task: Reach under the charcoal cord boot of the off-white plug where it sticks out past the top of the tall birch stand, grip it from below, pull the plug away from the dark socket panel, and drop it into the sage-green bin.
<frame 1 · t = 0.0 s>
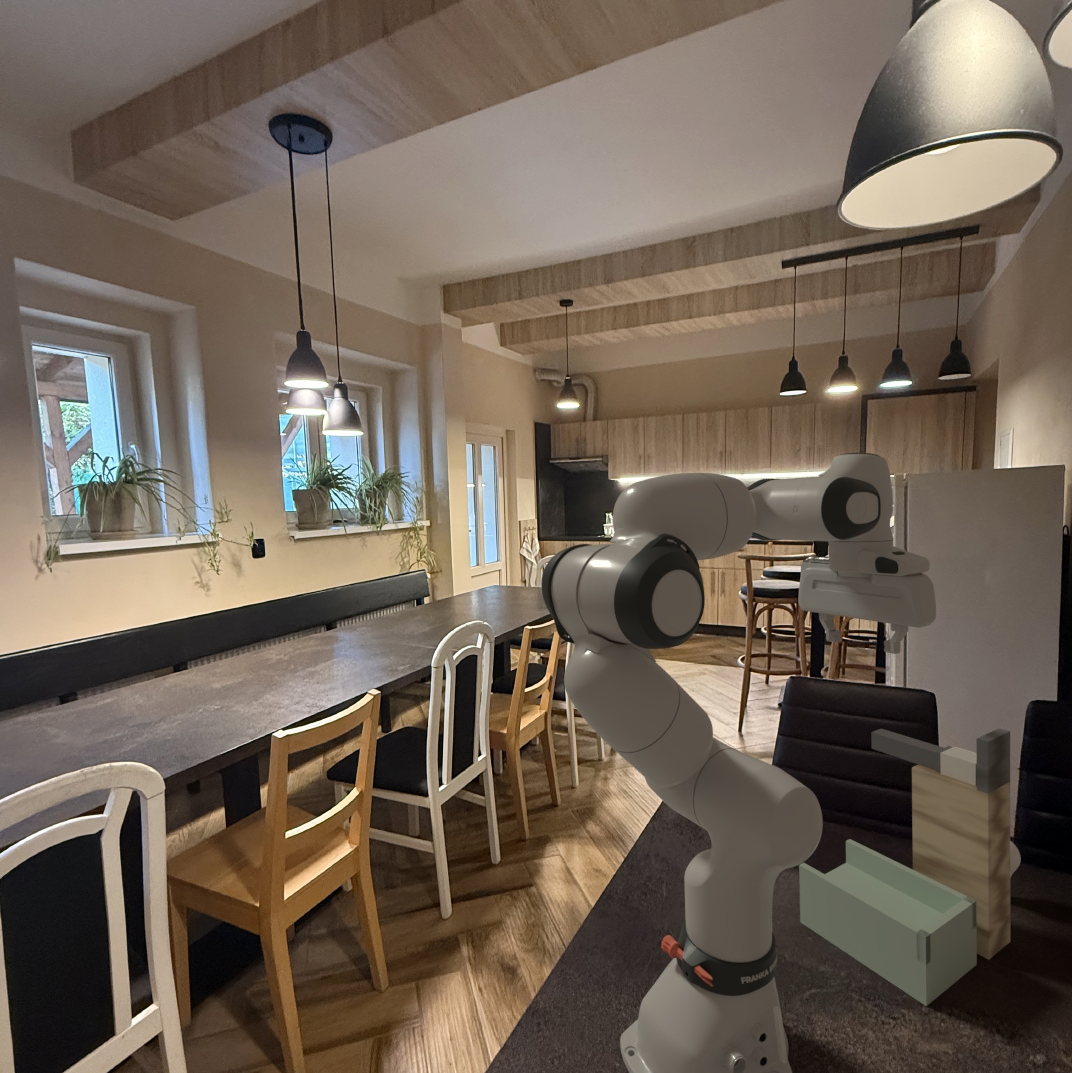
hand: (861, 646, 93), 48 cm above the table, tool pointing down, fingers open, 8 cm apart
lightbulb: (998, 897, 105), on the table
bin: (883, 942, 95), on the table
stand: (960, 929, 97), on the table
plug: (965, 776, 95), point 26 cm above the table, touching stand
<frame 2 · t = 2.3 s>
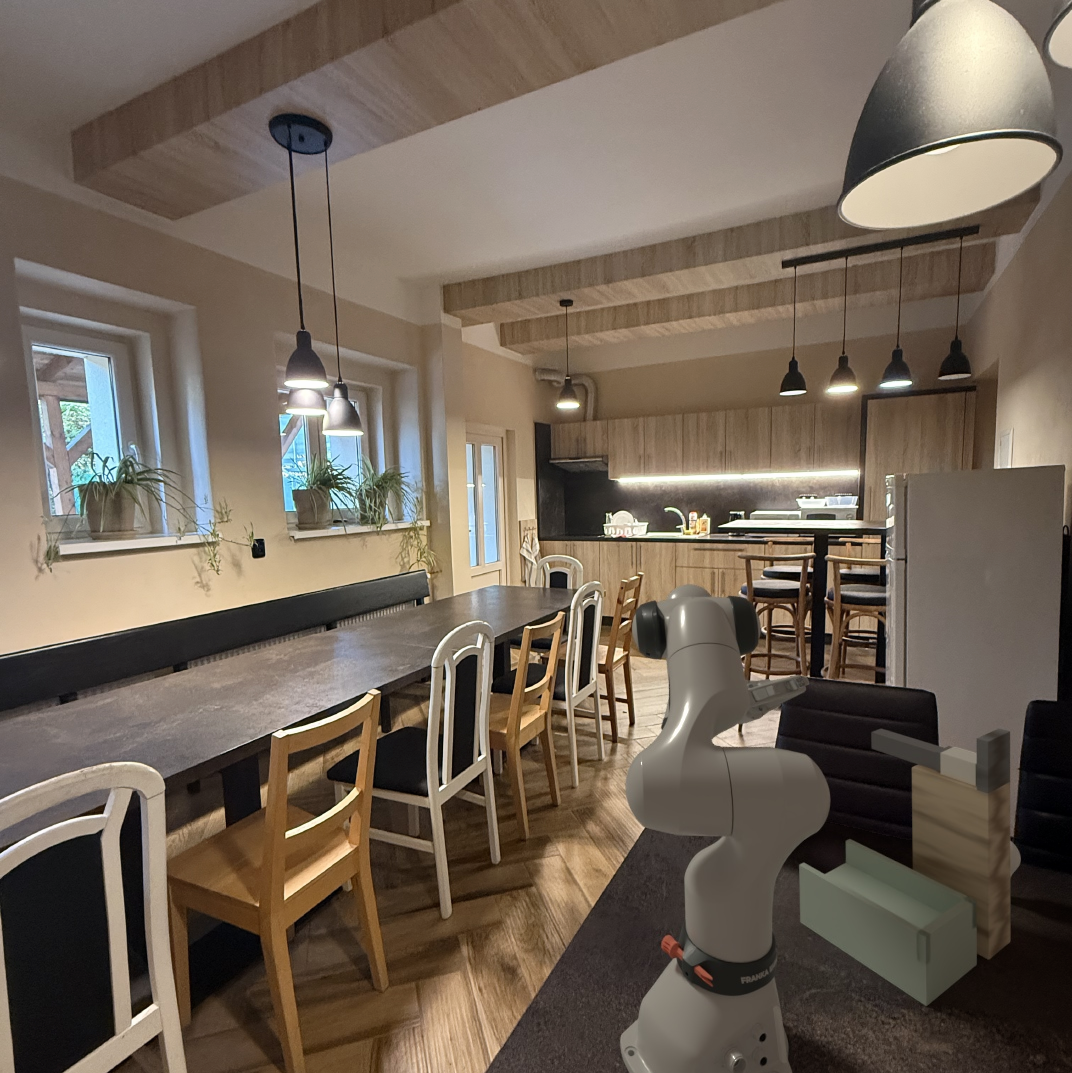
hand: (791, 684, 123), 33 cm above the table, tool pointing upward, fingers open, 8 cm apart
nothing on the table moved.
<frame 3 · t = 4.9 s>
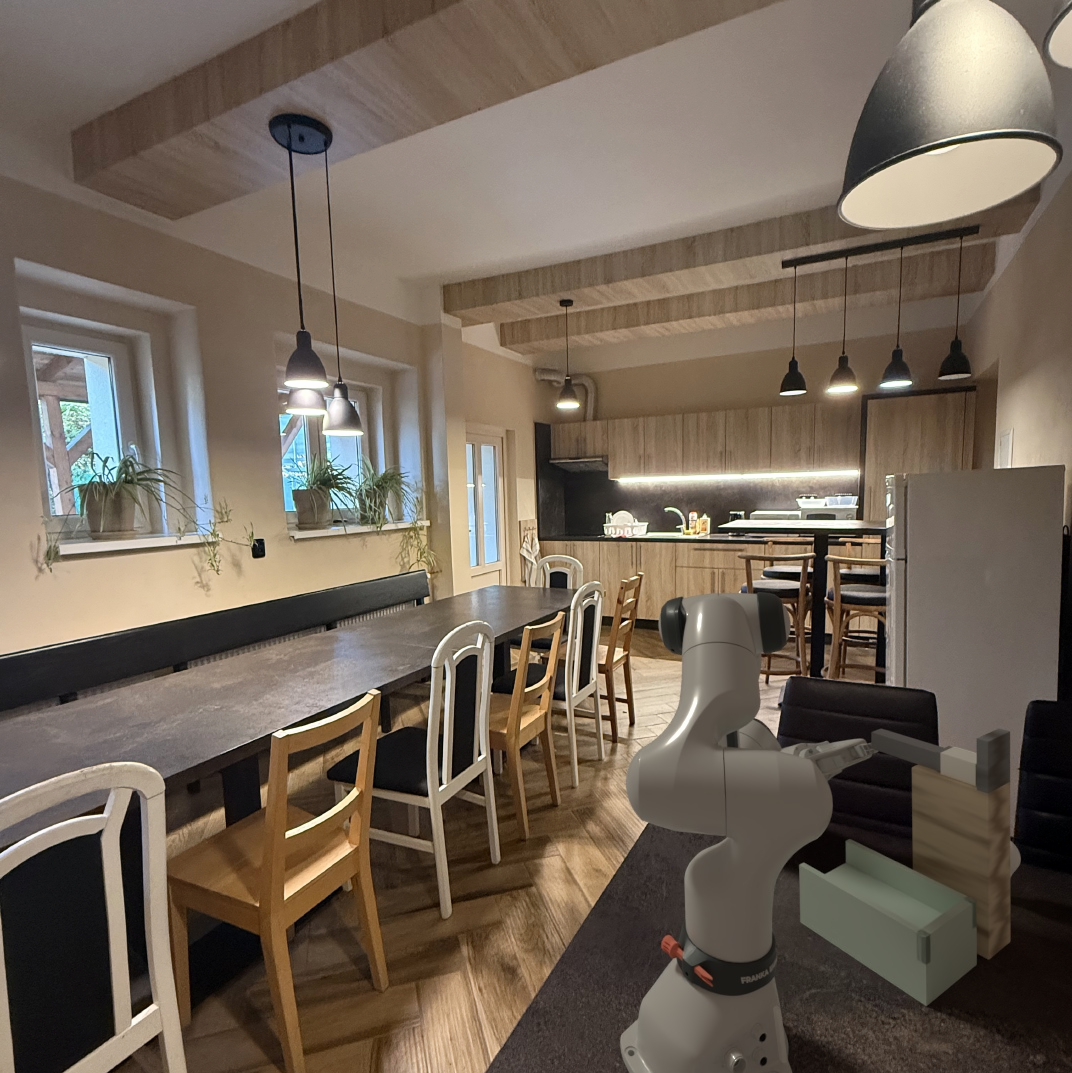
hand: (860, 753, 110), 24 cm above the table, tool pointing upward, fingers open, 8 cm apart
nothing on the table moved.
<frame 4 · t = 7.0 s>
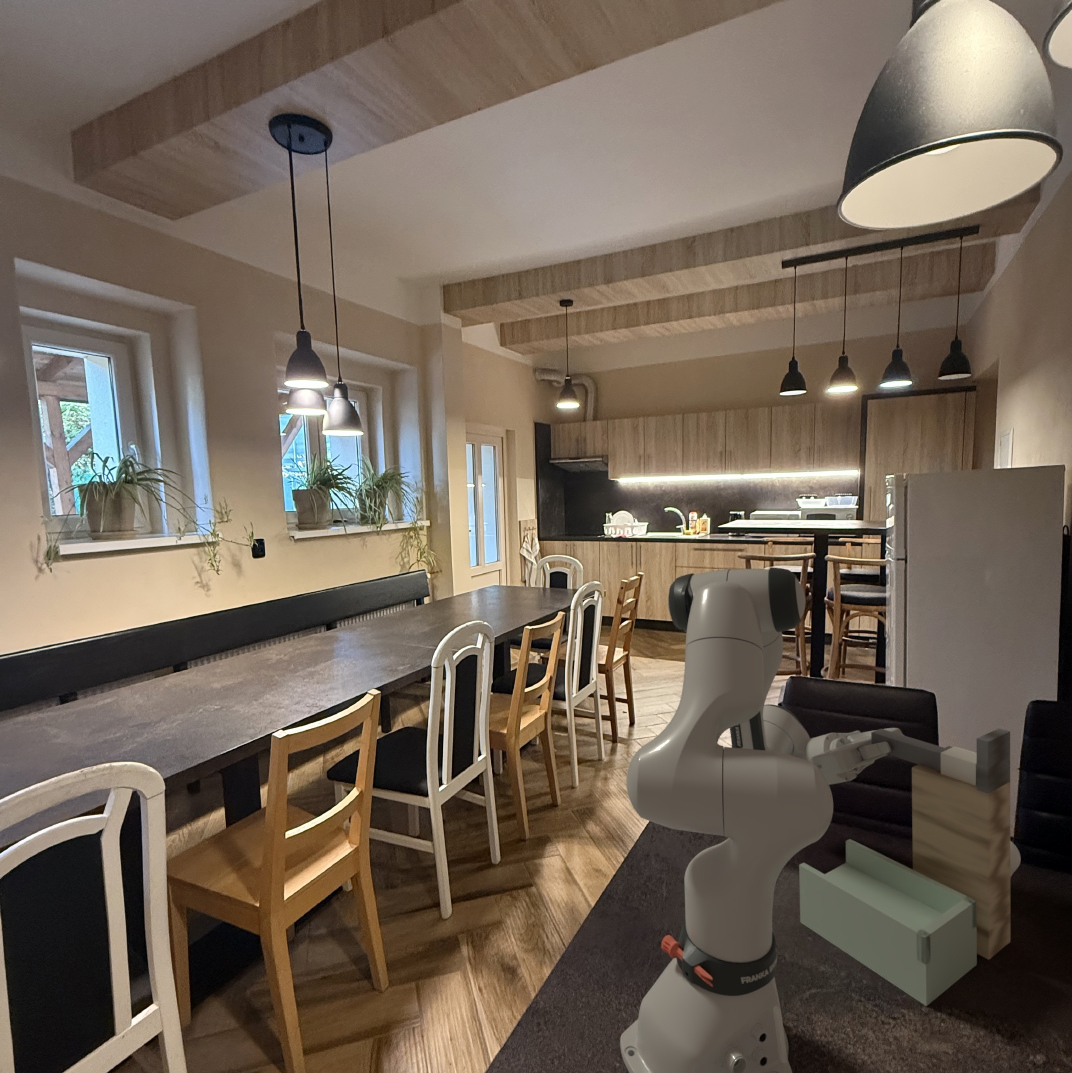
hand: (897, 742, 104), 28 cm above the table, tool pointing upward, fingers closed on plug, 3 cm apart
plug: (965, 775, 95), point 26 cm above the table, touching gripper, stand
everything else where it was.
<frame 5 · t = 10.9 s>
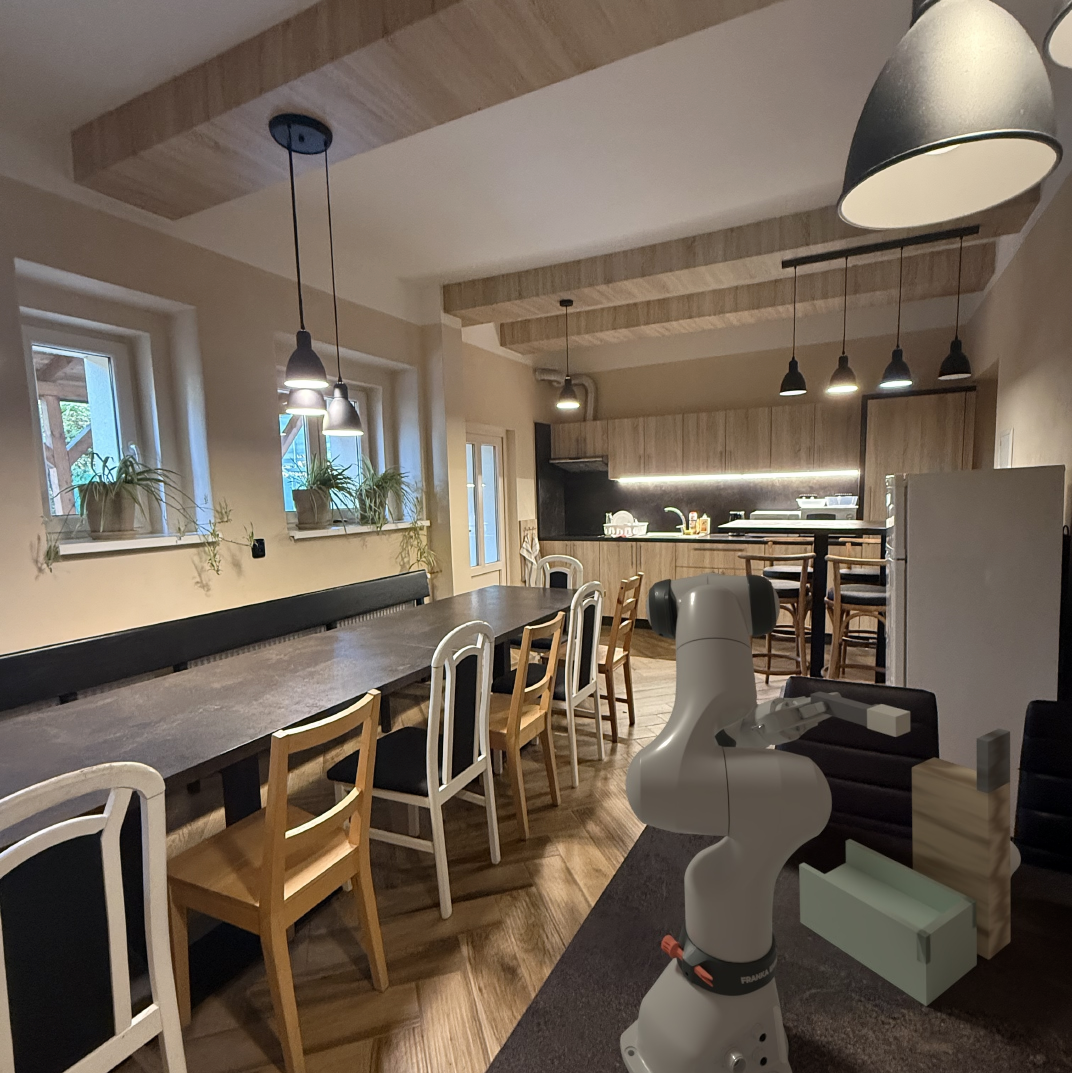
hand: (833, 703, 114), 32 cm above the table, tool pointing upward, fingers closed on plug, 3 cm apart
plug: (888, 729, 105), point 30 cm above the table, touching gripper
everything else where it was.
when the fingers open (19 cm above the table, at t = 14.8 s): plug drops 11 cm, resting on bin.
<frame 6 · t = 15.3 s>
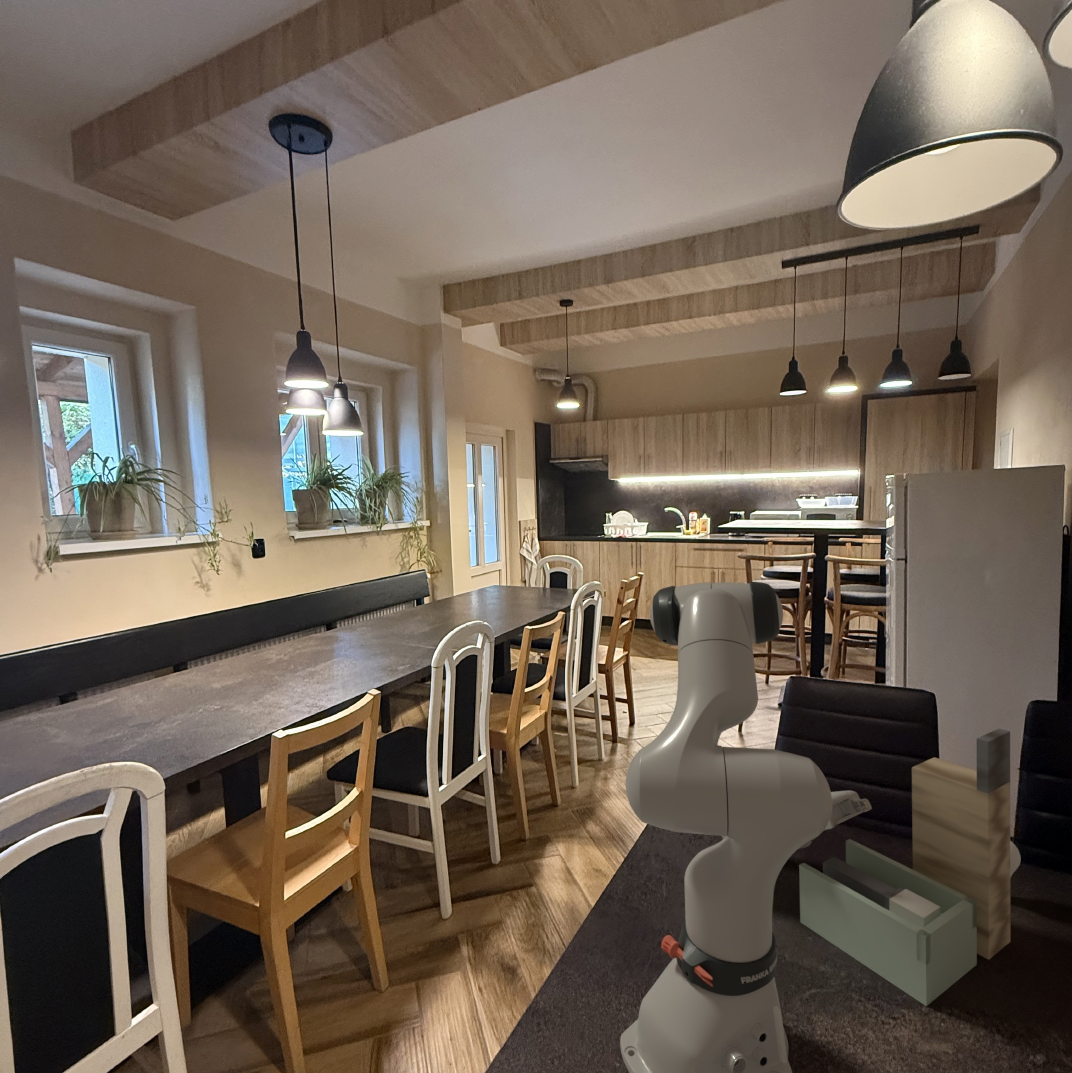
hand: (850, 812, 99), 19 cm above the table, tool pointing upward, fingers open, 8 cm apart
plug: (914, 924, 90), point 6 cm above the table, touching bin
everything else where it was.
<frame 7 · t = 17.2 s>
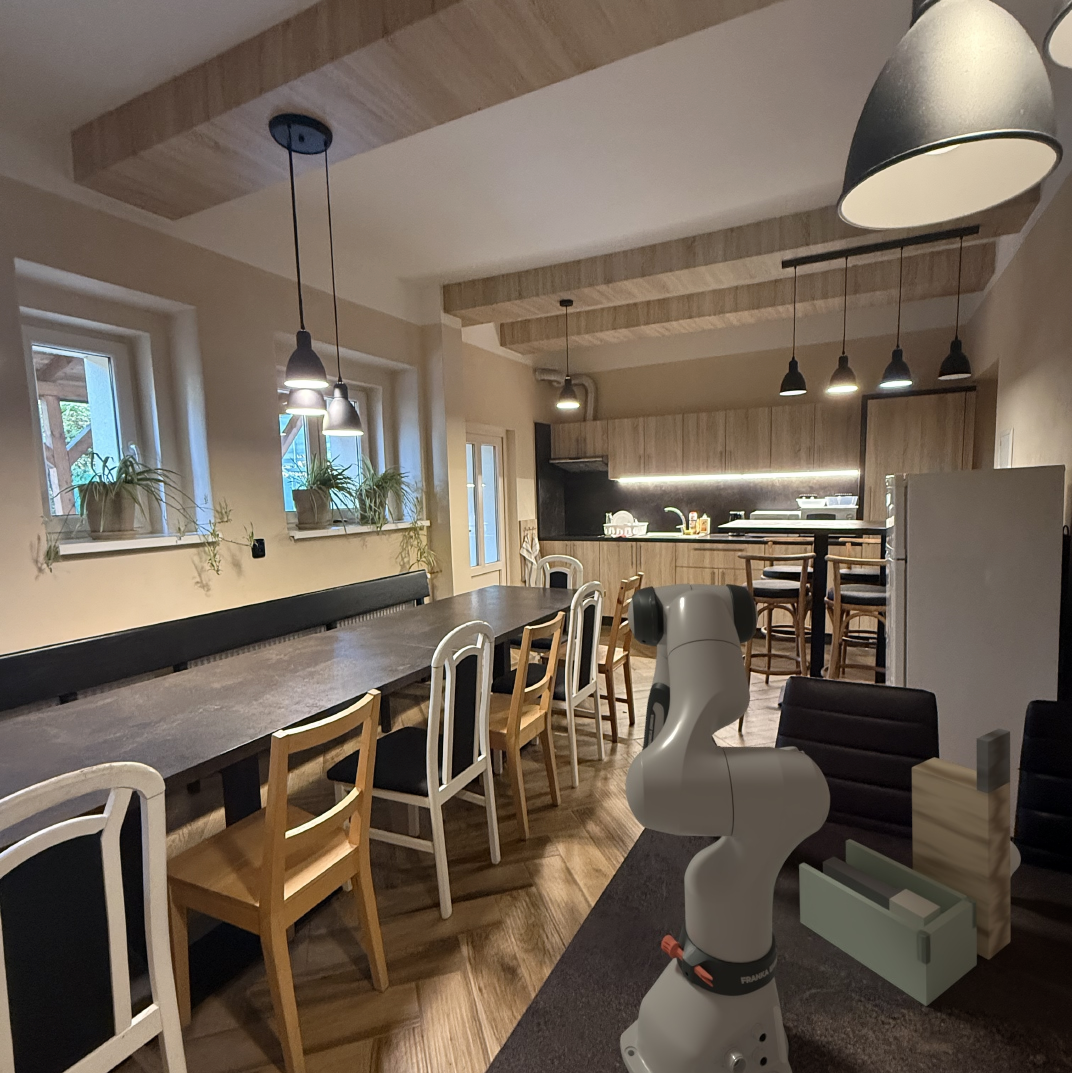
hand: (786, 762, 109), 23 cm above the table, tool pointing upward, fingers open, 8 cm apart
nothing on the table moved.
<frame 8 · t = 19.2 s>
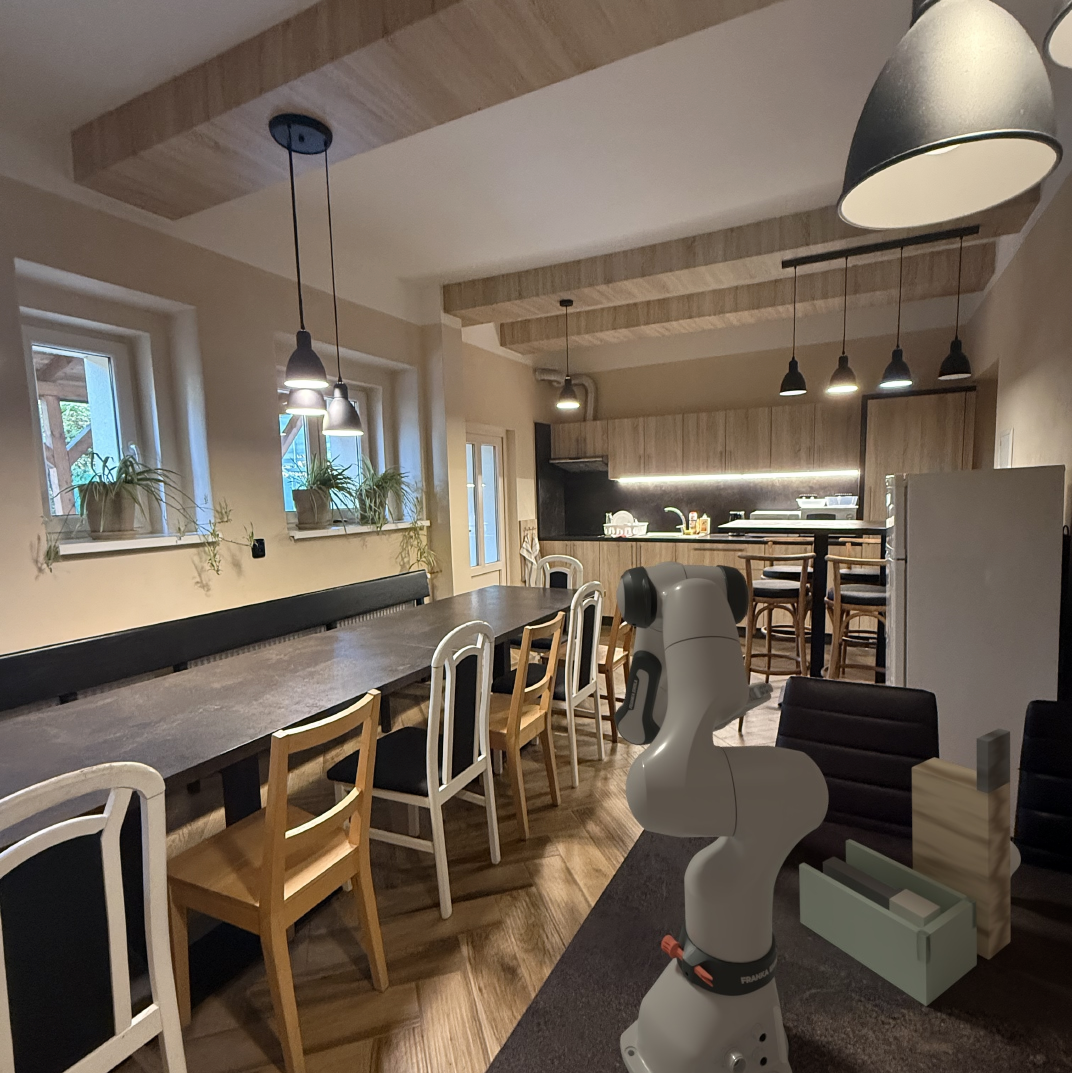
hand: (753, 692, 115), 34 cm above the table, tool pointing upward, fingers open, 8 cm apart
nothing on the table moved.
at the end: plug inside the target area (5.4 cm from its centre), point 6.0 cm above the table; the gripper is holding nothing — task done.
